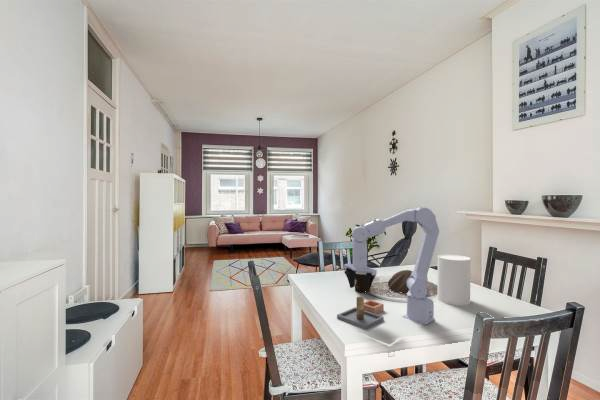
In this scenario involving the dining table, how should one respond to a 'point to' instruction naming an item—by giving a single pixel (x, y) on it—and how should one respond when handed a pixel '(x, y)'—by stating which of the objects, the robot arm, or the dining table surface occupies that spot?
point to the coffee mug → (359, 282)
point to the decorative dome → (400, 281)
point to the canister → (453, 279)
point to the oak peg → (360, 308)
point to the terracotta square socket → (373, 306)
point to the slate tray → (366, 323)
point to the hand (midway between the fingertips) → (359, 289)
